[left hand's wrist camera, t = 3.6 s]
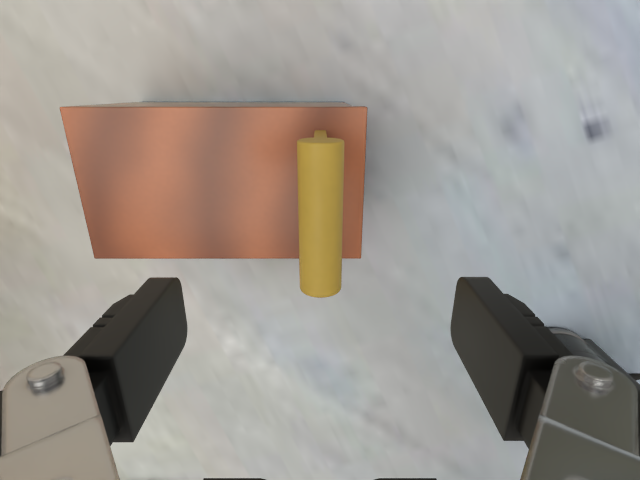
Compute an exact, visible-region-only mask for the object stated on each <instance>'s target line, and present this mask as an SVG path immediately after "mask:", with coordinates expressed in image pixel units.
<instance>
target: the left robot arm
mask: <svg viewBox="0 0 640 480" xmlns="http://www.w3.org/2000/svg"><path fill="white" fill-rule="evenodd" d="M451 337H452V342H453V345H454V347H455V349H456V351H457V353H458V355H459V357H460V358H461V360H462V362H463V364H464V366H465V368H466V370H467V372H468V374H469V376H470V377H471V379H472V381H473V383H474V385H475V387H476V389H477V391H478V393H479V395H480V396H481V398H482V400H483V402H484V404H485V406H486V408H487V410H488V412H489V414H490V416H491V417H492V419H493V421H494V423H495V425H496V427H497V429H498V431H499V433H500V435H501V436H502V438H503V440H504V441H524V442H525V443H526V445H527V447H528V448H529V451H528V455H527V458H526V462H525V465H524V469H523V472H522V476H521V479H520V480H640V384H639V383H637V382H636V380H639V379H640V374H628V373H627V372H626V371H624V370H623V369H622V368H621V367H620V366H619V365H618V364H617V363H616V362H615V361H614V360H612V359H611V358H610V357H609V356H608V355H607V354H606V353H605V352H604V351H603V350H602V349H600V348H599V347H598V346H597V345H596V344H595V343H594V342H593V341H592V340H585V339H582V338H581V337H580V336H579V335H577V334H576V333H574V332H572V331H570V330H567V329H562V328H547V327H546V326H544V323H543V322H542V321H541V320H540V319H539V318H538V317H535V314H534V313H533V312H532V311H531V310H530V309H529V308H528V307H527V306H526V305H525V304H524V303H523V302H521V301H519V300H517V299H516V298H514V297H512V296H510V295H509V294H503V293H502V292H501V291H500V289H499V288H498V287H497V286H496V285H495V284H494V283H493V282H492V281H491V279H489V278H488V277H460V278H459V280H458V282H457V286H456V292H455V299H454V306H453V313H452V320H451ZM186 338H187V321H186V314H185V307H184V300H183V293H182V287H181V283H180V280H179V279H178V278H149V279H148V280H147V281H146V282H145V283H144V284H143V285H142V286H141V287H140V288H139V290H138V291H137V292H136V293H135V294H134V295H128V296H127V297H125V298H123V299H121V300H120V301H118V302H116V303H114V304H113V305H112V306H111V307H110V308H109V309H108V310H107V311H106V312H105V313H104V314H103V315H102V318H99V319H98V320H97V321H96V322H95V323H94V324H93V327H91V328H90V329H89V330H88V331H87V332H86V333H85V334H84V335H83V336H82V337H81V338H80V339H79V340H78V341H77V342H76V343H75V344H74V345H73V346H72V347H71V348H70V349H69V350H68V351H67V352H66V353H65V354H64V355H63V356H58V357H53V358H49V359H45V360H42V361H39V362H37V363H35V364H32V365H30V366H28V367H26V368H25V369H23V370H21V371H20V372H18V373H17V374H16V375H14V376H13V377H12V378H11V379H10V380H9V381H8V382H7V384H6V385H5V387H4V389H3V391H0V480H120V479H119V476H118V472H117V469H116V465H115V462H114V458H113V455H112V451H111V448H110V446H111V444H112V443H113V442H134V440H135V438H136V436H137V434H138V432H139V430H140V428H141V427H142V425H143V423H144V421H145V419H146V417H147V415H148V413H149V412H150V410H151V408H152V406H153V404H154V402H155V400H156V398H157V397H158V395H159V393H160V391H161V389H162V387H163V385H164V383H165V381H166V380H167V378H168V376H169V374H170V372H171V370H172V368H173V366H174V365H175V363H176V361H177V359H178V357H179V355H180V353H181V351H182V350H183V348H184V345H185V342H186ZM204 480H265V479H261V478H204ZM375 480H436V478H379V479H375Z"/></svg>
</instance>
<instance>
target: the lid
mask: <svg viewBox="0 0 640 480" xmlns="http://www.w3.org/2000/svg"><path fill="white" fill-rule="evenodd" d="M60 111H61V115H62V120H63V124H64V128H65V133H66V137H67V141H68V145H69V150H70V154H71V158H72V163H73V167H74V171H75V176H76V180H77V184H78V189H79V193H80V197H81V201H82V206H83V210H84V214H85V219H86V223H87V227H88V232H89V236H90V240H91V244H92V249H93V253H94V257H95V258H299V265H300V289H301V291H302V292H303V293H304V294H306V295H309V296H312V297H329V296H333V295H335V294H337V293H338V292H339V291H340V289H341V271H342V258H361V244H362V221H363V197H364V174H365V150H366V127H367V107H365V106H69V107H60Z"/></svg>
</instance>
